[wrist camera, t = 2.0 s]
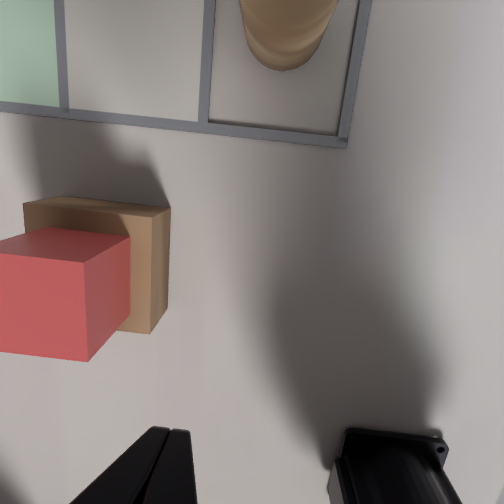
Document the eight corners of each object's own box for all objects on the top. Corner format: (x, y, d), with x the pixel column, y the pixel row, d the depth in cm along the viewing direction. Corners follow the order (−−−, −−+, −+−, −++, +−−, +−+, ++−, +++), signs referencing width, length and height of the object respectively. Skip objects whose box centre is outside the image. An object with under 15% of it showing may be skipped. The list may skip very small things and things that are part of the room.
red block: (130, 236, 15) (83, 262, 11) (130, 314, 16) (87, 362, 12) (45, 226, 15) (-29, 249, 11) (51, 304, 16) (-15, 349, 13)
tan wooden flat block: (170, 207, 18) (152, 217, 15) (167, 308, 19) (149, 334, 17) (62, 195, 18) (22, 203, 15) (68, 296, 20) (33, 320, 17)
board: (388, -101, 14) (390, -104, 14) (345, 148, 17) (346, 148, 16) (-111, -147, 14) (-116, -151, 14) (-71, 103, 17) (-75, 103, 17)
